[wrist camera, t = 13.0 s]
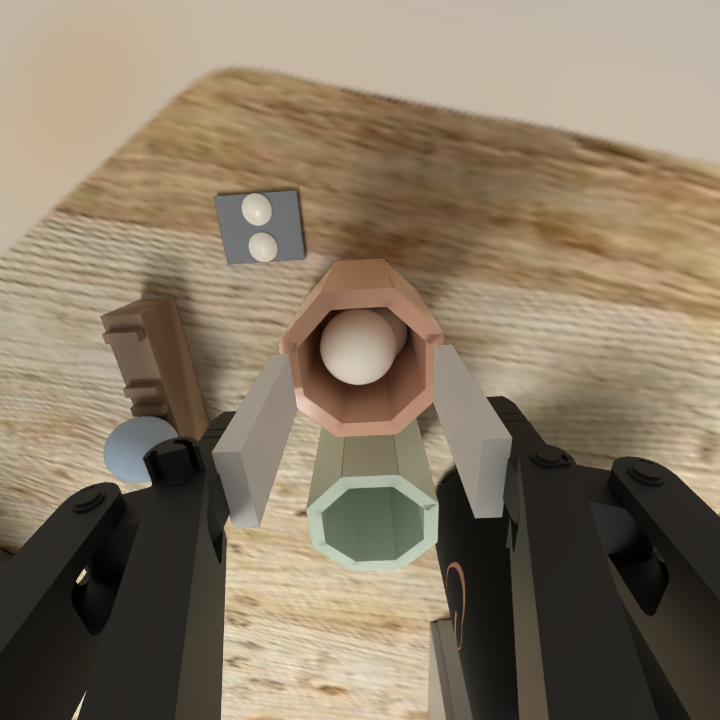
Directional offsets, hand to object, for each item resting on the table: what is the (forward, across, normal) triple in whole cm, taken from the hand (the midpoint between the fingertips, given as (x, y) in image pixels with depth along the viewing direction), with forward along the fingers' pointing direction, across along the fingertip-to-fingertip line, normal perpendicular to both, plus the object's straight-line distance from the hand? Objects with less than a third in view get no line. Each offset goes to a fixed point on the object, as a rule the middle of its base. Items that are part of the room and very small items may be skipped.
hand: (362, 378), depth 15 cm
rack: (+10, -14, -6) cm, 18 cm away
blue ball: (+6, -14, -6) cm, 16 cm away
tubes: (+10, -2, -3) cm, 11 cm away
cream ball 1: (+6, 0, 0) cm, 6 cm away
